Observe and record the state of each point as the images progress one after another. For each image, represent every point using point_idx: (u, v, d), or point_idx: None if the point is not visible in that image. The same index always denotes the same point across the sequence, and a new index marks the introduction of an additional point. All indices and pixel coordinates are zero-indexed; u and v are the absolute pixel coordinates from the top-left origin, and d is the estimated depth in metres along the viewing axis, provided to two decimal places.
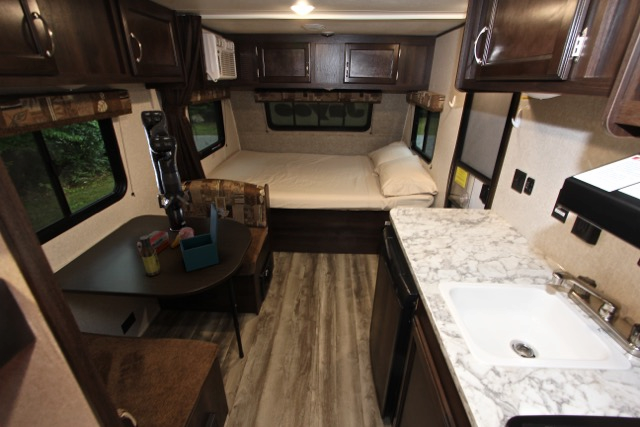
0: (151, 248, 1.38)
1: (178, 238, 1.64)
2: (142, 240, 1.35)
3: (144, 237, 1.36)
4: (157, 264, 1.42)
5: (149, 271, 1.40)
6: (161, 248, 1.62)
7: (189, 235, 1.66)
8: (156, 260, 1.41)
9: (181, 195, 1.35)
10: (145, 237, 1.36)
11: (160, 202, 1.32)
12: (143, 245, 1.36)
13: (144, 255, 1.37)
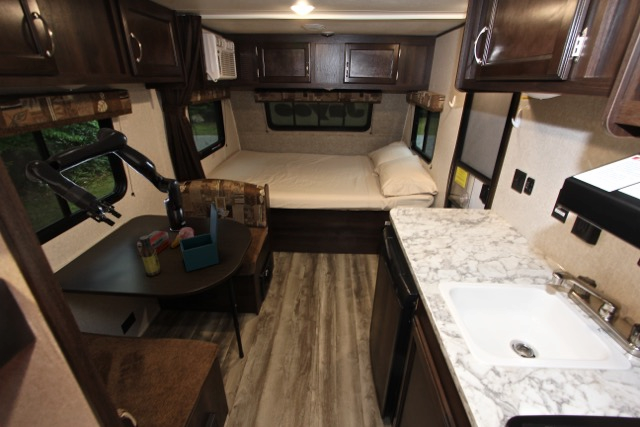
0: (151, 248, 1.38)
1: (178, 238, 1.64)
2: (142, 240, 1.35)
3: (144, 237, 1.36)
4: (157, 264, 1.42)
5: (149, 271, 1.40)
6: (161, 248, 1.62)
7: (189, 235, 1.66)
8: (156, 260, 1.41)
9: None
10: (145, 237, 1.36)
11: None
12: (143, 245, 1.36)
13: (144, 255, 1.37)
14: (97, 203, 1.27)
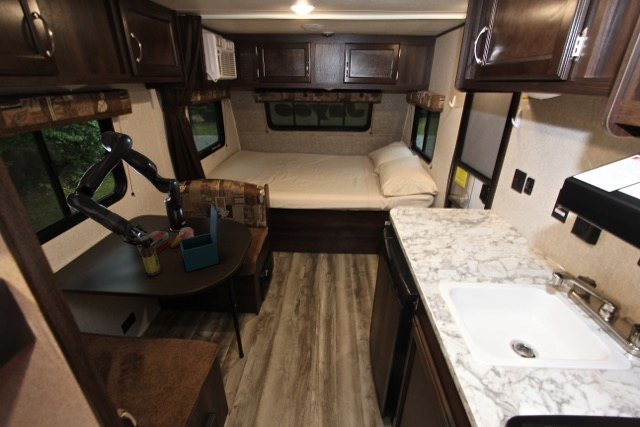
0: (151, 248, 1.38)
1: (178, 238, 1.64)
2: None
3: (144, 237, 1.36)
4: (157, 264, 1.42)
5: (149, 271, 1.40)
6: (161, 248, 1.62)
7: (189, 235, 1.66)
8: (156, 260, 1.41)
9: None
10: (145, 237, 1.36)
11: None
12: None
13: (144, 255, 1.37)
14: (131, 227, 1.34)
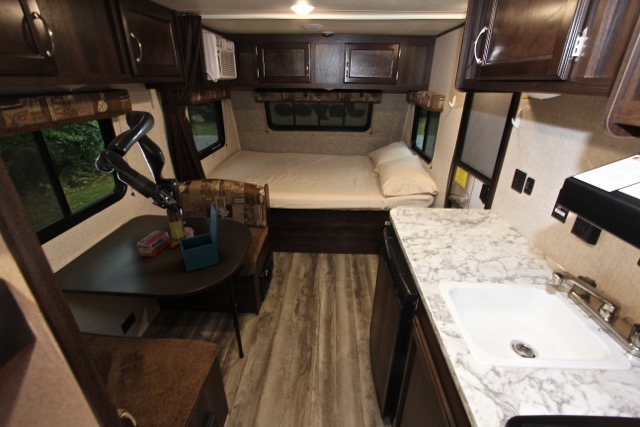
0: (178, 213, 1.37)
1: None
2: None
3: (171, 201, 1.35)
4: (183, 230, 1.41)
5: (175, 236, 1.40)
6: (161, 248, 1.62)
7: (189, 235, 1.66)
8: (182, 226, 1.40)
9: None
10: (172, 201, 1.35)
11: None
12: None
13: (171, 220, 1.36)
14: (158, 191, 1.34)
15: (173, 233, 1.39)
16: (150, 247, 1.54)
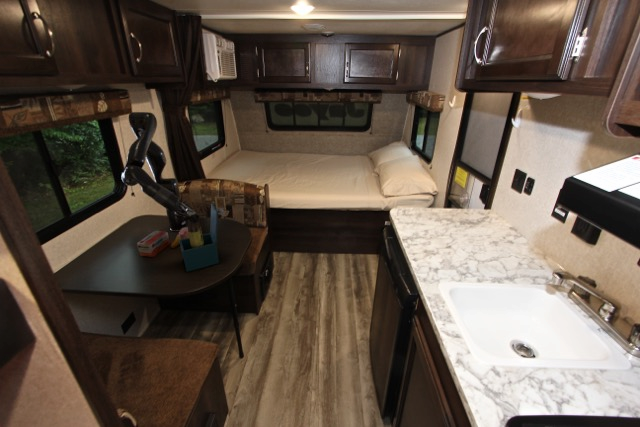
0: (197, 224, 1.44)
1: (178, 238, 1.64)
2: None
3: (191, 213, 1.42)
4: (202, 240, 1.47)
5: (194, 246, 1.46)
6: (161, 248, 1.62)
7: None
8: (201, 236, 1.47)
9: None
10: (192, 213, 1.42)
11: None
12: None
13: (191, 230, 1.42)
14: (179, 203, 1.40)
15: (192, 243, 1.45)
16: (150, 247, 1.54)
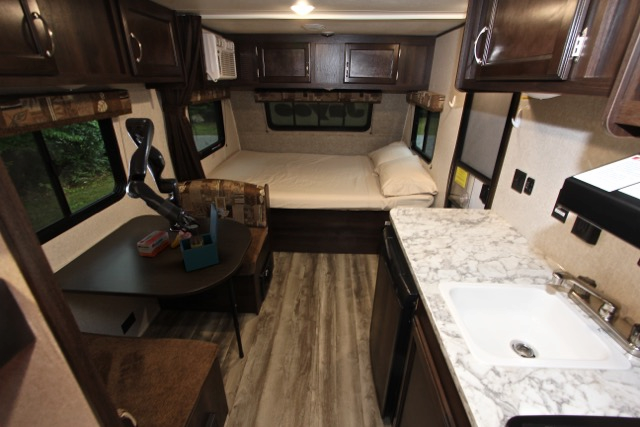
0: (199, 236, 1.47)
1: (178, 238, 1.64)
2: None
3: (193, 226, 1.45)
4: None
5: None
6: (161, 248, 1.62)
7: (189, 235, 1.66)
8: None
9: None
10: (194, 226, 1.45)
11: None
12: None
13: (193, 243, 1.46)
14: (182, 215, 1.43)
15: None
16: (150, 247, 1.54)
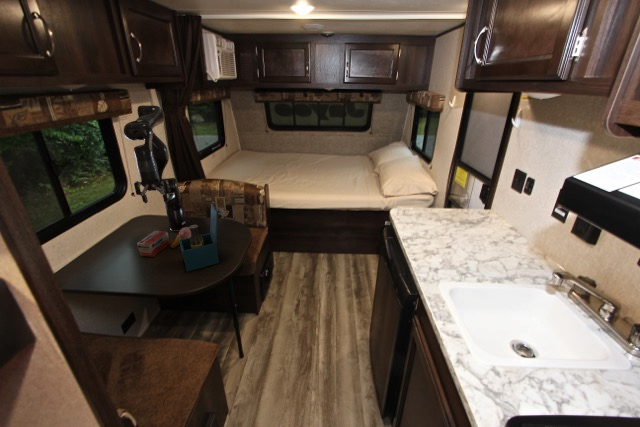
0: (199, 236, 1.47)
1: (178, 238, 1.64)
2: (192, 229, 1.43)
3: (193, 226, 1.45)
4: None
5: None
6: (161, 248, 1.62)
7: (189, 235, 1.66)
8: None
9: (157, 184, 1.34)
10: (194, 226, 1.45)
11: (136, 189, 1.33)
12: (192, 233, 1.45)
13: (193, 243, 1.46)
14: None
15: None
16: (150, 247, 1.54)
